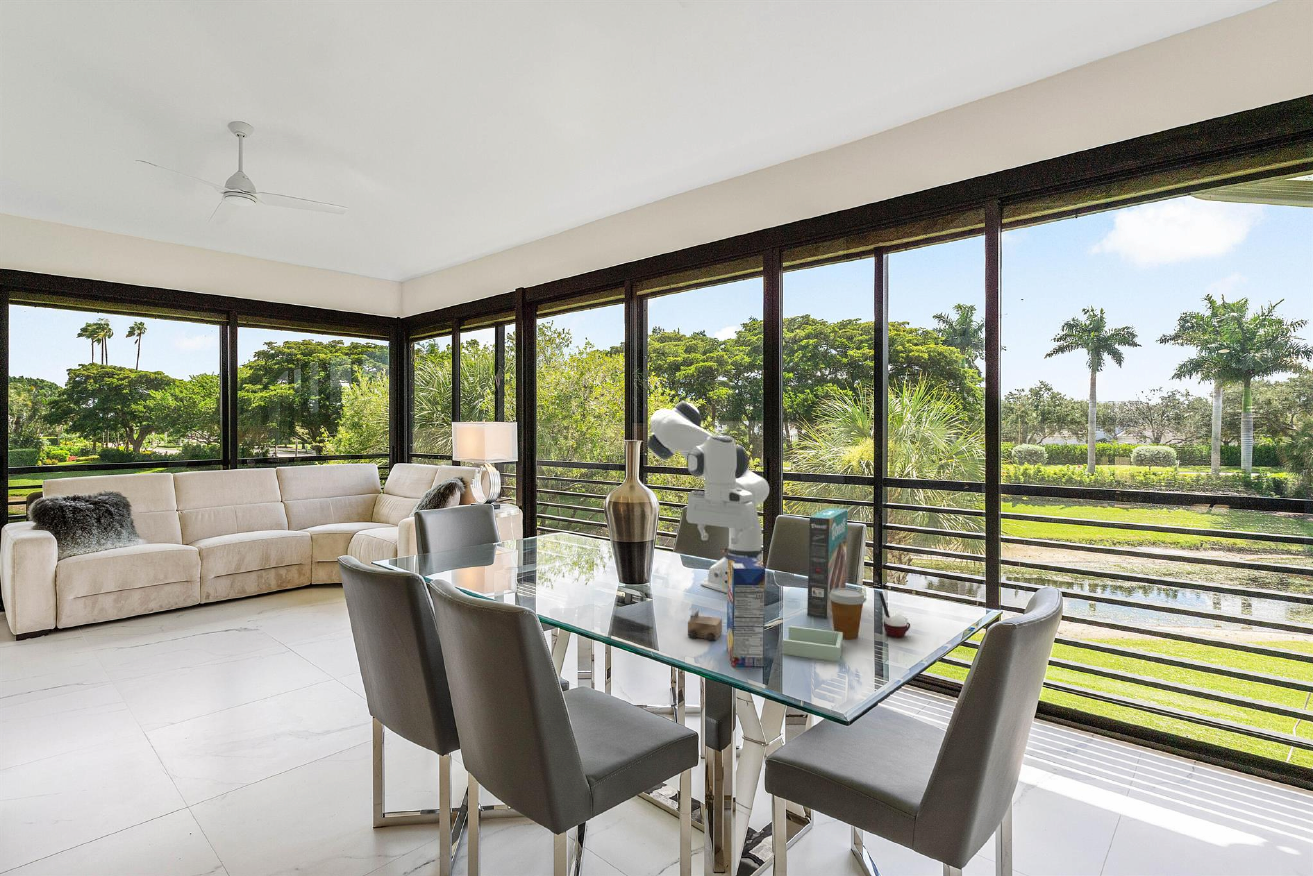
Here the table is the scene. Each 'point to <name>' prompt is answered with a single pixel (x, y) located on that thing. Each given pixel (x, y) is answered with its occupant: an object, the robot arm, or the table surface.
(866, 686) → the table surface
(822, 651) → the bay
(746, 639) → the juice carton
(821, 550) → the cake mix box
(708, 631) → the cart
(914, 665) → the table surface
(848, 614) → the disposable coffee cup
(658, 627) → the table surface
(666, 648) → the table surface
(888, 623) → the cocoa
